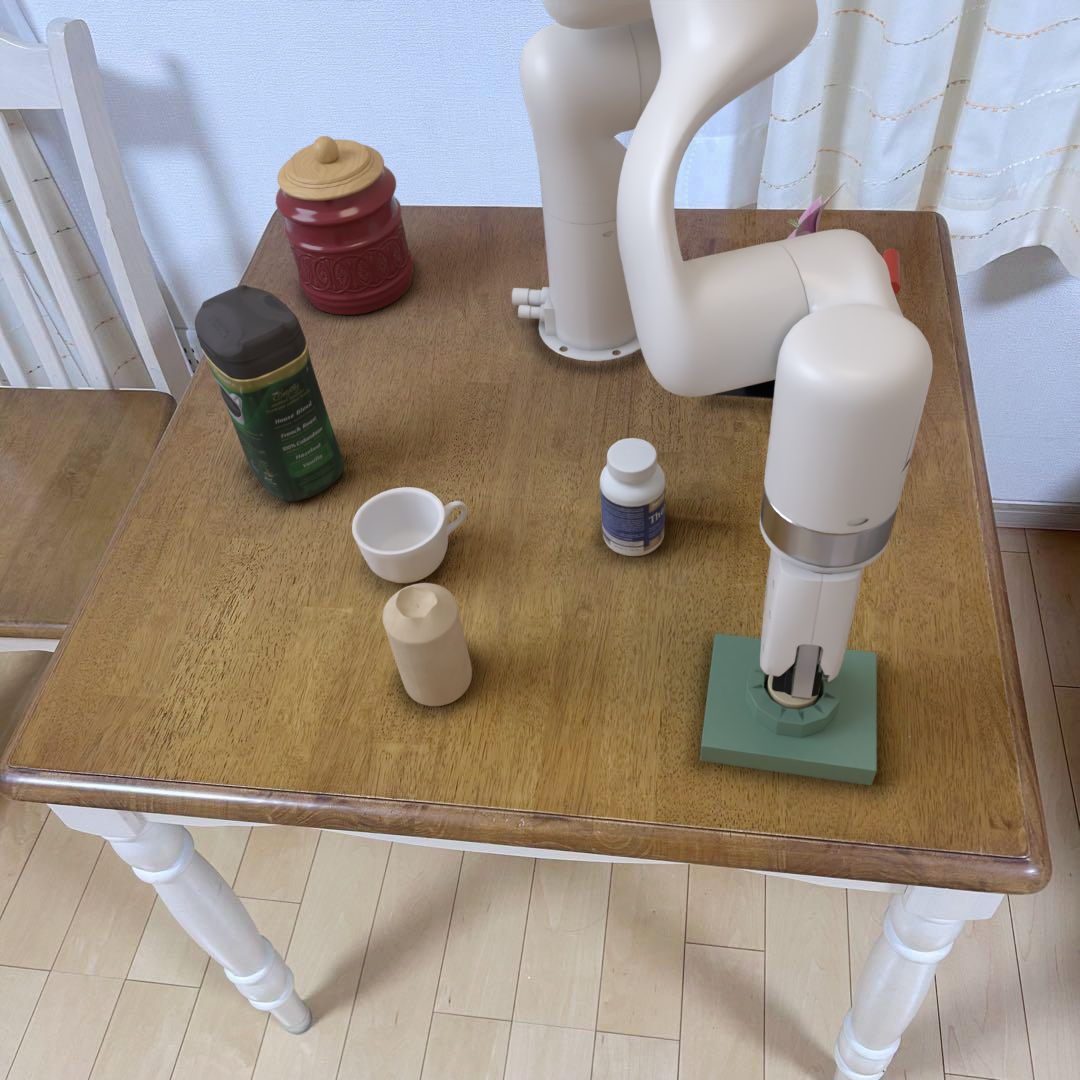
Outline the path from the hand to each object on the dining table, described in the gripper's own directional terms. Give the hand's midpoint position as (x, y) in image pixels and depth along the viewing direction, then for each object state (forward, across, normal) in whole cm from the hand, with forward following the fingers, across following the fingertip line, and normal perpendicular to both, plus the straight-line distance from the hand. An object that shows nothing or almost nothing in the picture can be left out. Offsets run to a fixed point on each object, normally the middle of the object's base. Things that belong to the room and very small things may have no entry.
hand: (794, 684), depth 73 cm
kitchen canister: (+4, -50, -51) cm, 72 cm away
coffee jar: (+4, -20, -47) cm, 51 cm away
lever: (-6, -38, +1) cm, 39 cm away
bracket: (+4, -38, -4) cm, 39 cm away
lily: (+4, -58, -2) cm, 58 cm away
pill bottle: (+4, -16, -14) cm, 22 cm away
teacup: (+4, -11, -32) cm, 34 cm away
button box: (+4, 0, 0) cm, 4 cm away
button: (+2, 0, 0) cm, 2 cm away
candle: (+4, +1, -27) cm, 27 cm away
